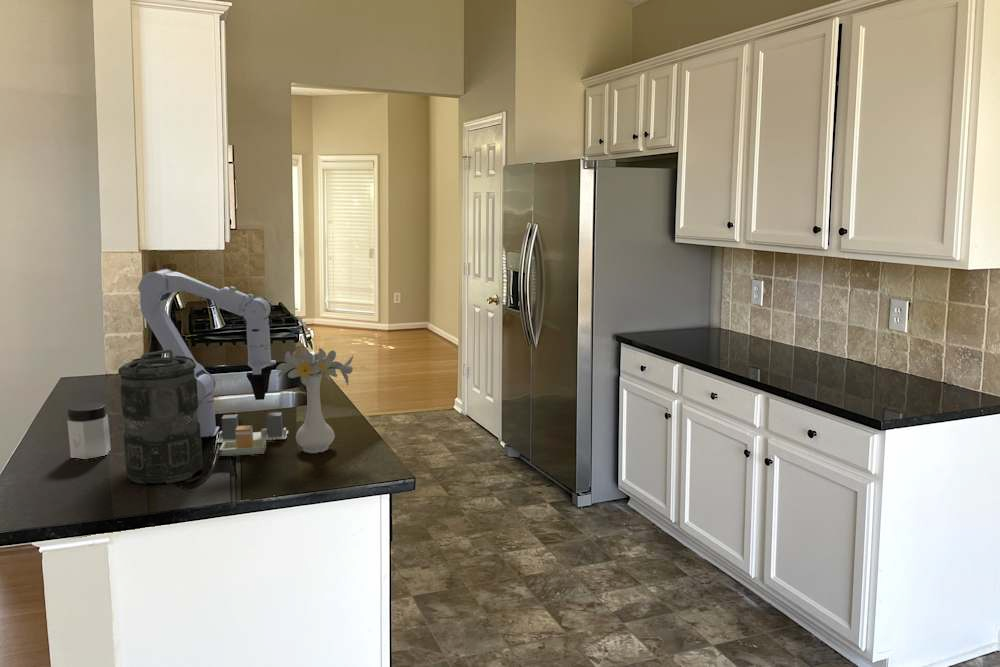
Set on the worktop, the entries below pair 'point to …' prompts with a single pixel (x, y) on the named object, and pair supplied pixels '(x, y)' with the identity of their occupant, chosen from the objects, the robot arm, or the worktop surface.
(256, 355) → the robot arm
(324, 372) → the flower vase
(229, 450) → the tray
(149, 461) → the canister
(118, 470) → the worktop surface
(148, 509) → the worktop surface
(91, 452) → the jar
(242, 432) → the block
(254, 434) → the panel
